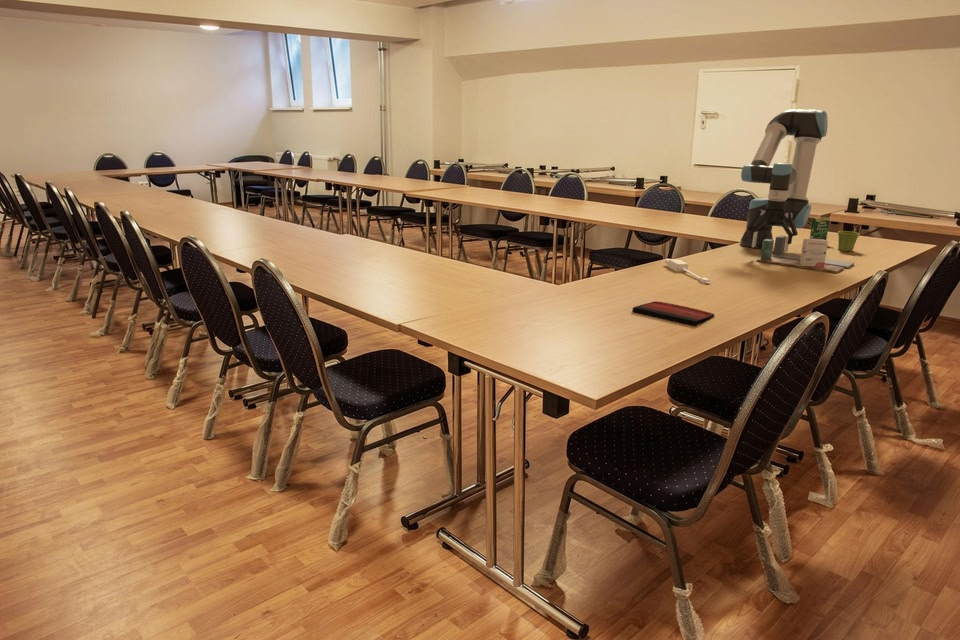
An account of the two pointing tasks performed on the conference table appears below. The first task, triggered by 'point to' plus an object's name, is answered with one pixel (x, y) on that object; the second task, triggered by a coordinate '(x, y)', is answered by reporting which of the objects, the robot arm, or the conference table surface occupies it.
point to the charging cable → (683, 268)
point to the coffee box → (819, 228)
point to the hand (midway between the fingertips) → (769, 249)
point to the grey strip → (780, 254)
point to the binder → (673, 313)
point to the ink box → (813, 252)
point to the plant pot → (847, 240)
